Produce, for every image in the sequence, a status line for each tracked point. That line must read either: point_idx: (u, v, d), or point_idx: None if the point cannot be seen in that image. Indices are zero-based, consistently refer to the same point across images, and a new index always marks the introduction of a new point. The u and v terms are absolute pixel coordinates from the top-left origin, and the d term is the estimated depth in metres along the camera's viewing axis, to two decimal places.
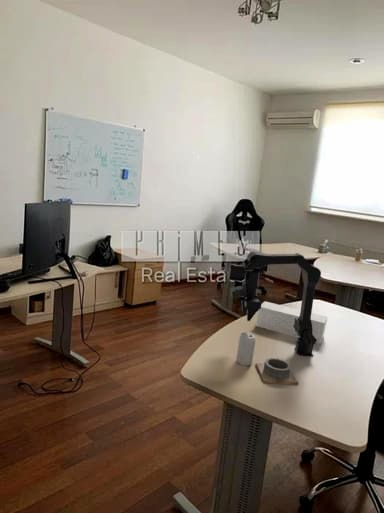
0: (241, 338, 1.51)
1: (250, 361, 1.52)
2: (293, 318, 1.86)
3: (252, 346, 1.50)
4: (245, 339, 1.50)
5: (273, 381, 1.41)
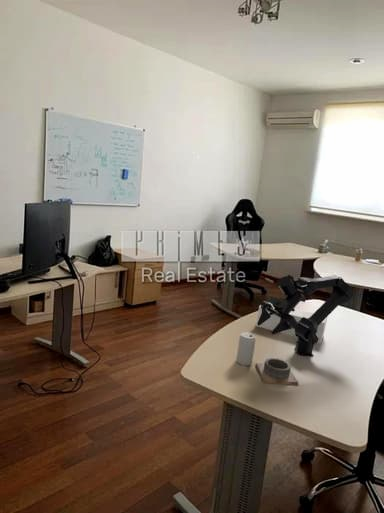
0: (241, 338, 1.51)
1: (250, 361, 1.52)
2: None
3: (252, 346, 1.50)
4: (245, 339, 1.50)
5: (273, 381, 1.41)
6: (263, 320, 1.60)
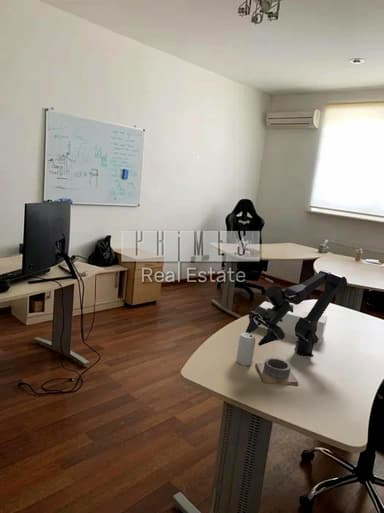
0: (241, 338, 1.51)
1: (250, 361, 1.52)
2: (293, 318, 1.86)
3: (252, 346, 1.50)
4: (245, 339, 1.50)
5: (273, 381, 1.41)
6: (251, 330, 1.58)
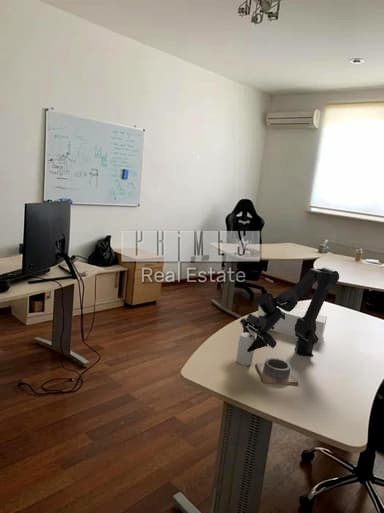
0: (241, 338, 1.51)
1: (250, 361, 1.52)
2: (293, 318, 1.86)
3: None
4: (245, 339, 1.50)
5: (273, 381, 1.41)
6: None
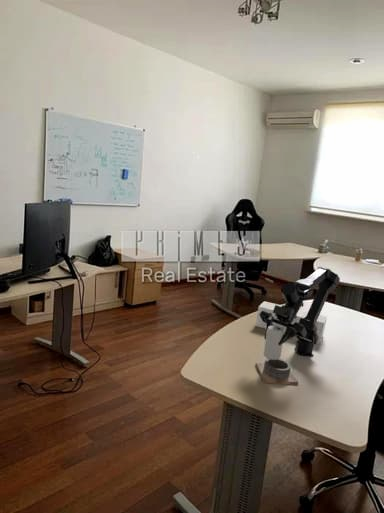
0: (271, 332, 1.43)
1: (280, 354, 1.46)
2: None
3: None
4: (276, 333, 1.42)
5: (273, 381, 1.41)
6: None
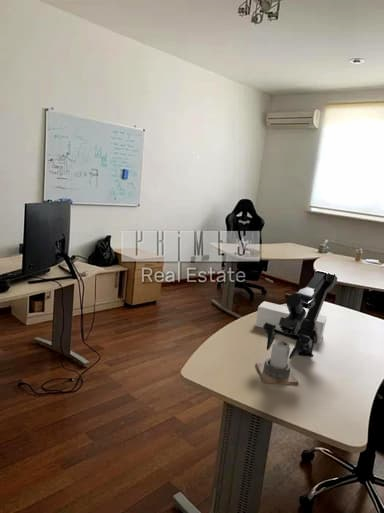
0: (278, 348, 1.43)
1: None
2: None
3: (288, 354, 1.45)
4: (283, 348, 1.42)
5: (273, 381, 1.41)
6: (270, 343, 1.49)
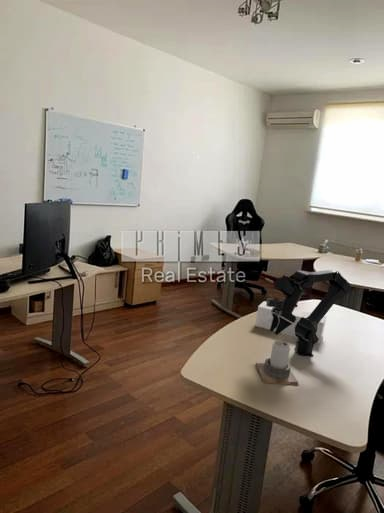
0: (278, 348, 1.43)
1: None
2: None
3: (288, 354, 1.45)
4: (283, 348, 1.42)
5: (273, 381, 1.41)
6: (275, 325, 1.62)
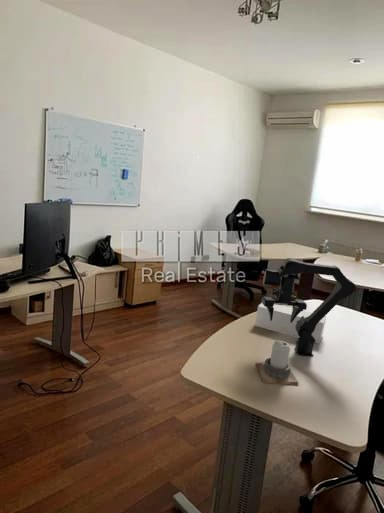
0: (278, 348, 1.43)
1: None
2: None
3: (288, 354, 1.45)
4: (283, 348, 1.42)
5: (273, 381, 1.41)
6: (292, 316, 1.67)
